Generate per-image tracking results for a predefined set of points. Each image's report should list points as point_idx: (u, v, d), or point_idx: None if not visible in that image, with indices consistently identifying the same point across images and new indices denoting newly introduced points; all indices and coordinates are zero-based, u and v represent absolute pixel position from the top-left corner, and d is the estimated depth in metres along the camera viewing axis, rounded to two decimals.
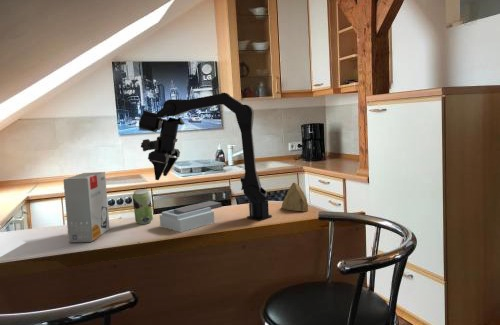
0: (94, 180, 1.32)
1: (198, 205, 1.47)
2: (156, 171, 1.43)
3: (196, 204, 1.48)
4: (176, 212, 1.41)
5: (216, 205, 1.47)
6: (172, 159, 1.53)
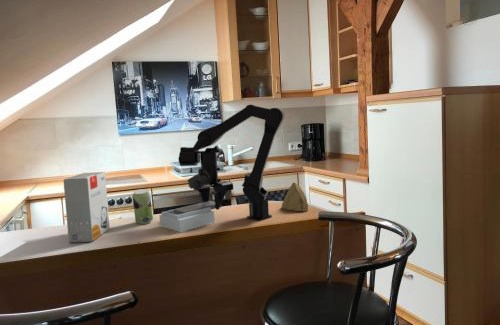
0: (94, 180, 1.32)
1: (198, 205, 1.46)
2: (218, 200, 1.46)
3: (196, 204, 1.48)
4: (176, 212, 1.41)
5: None
6: (207, 188, 1.53)
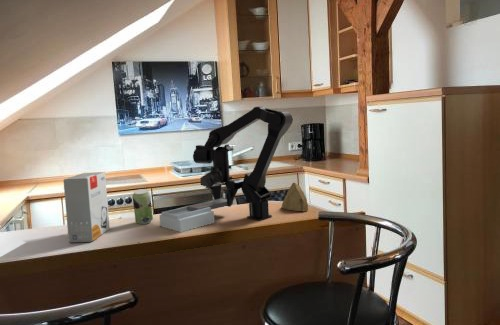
0: (94, 180, 1.32)
1: (210, 202, 1.50)
2: (230, 198, 1.50)
3: (208, 201, 1.52)
4: (189, 209, 1.45)
5: None
6: (219, 186, 1.57)
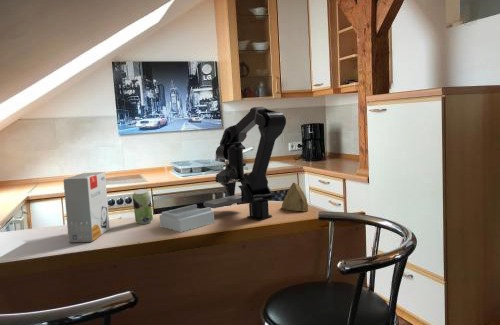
0: (94, 180, 1.32)
1: (225, 198, 1.55)
2: None
3: None
4: (206, 204, 1.50)
5: None
6: (233, 183, 1.62)
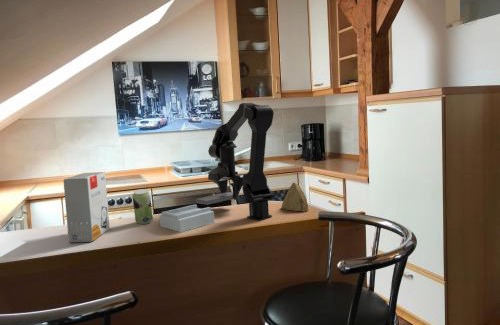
0: (94, 180, 1.32)
1: (217, 195, 1.60)
2: (235, 191, 1.60)
3: None
4: (198, 201, 1.55)
5: None
6: (225, 181, 1.67)
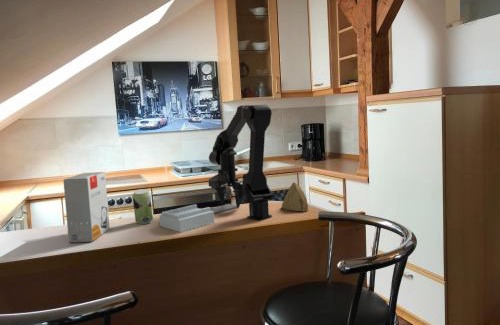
0: (94, 180, 1.32)
1: (218, 208, 1.61)
2: (238, 199, 1.59)
3: (216, 207, 1.63)
4: None
5: (235, 208, 1.62)
6: (223, 187, 1.68)
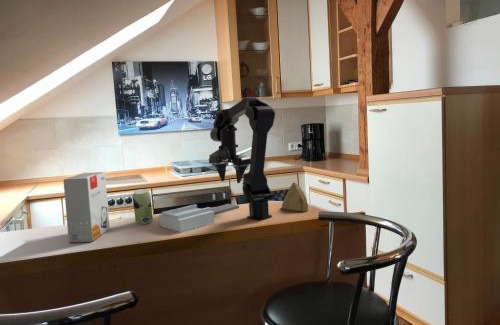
0: (94, 180, 1.32)
1: (218, 208, 1.61)
2: (239, 175, 1.59)
3: (216, 207, 1.63)
4: None
5: (234, 208, 1.62)
6: (224, 164, 1.68)
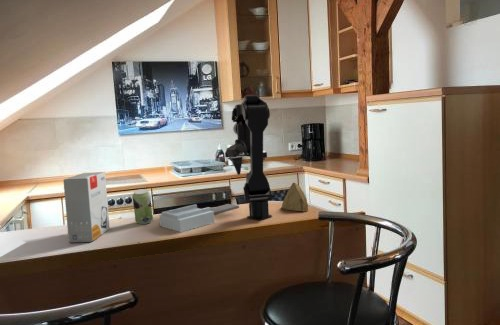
0: (94, 180, 1.32)
1: (218, 208, 1.61)
2: None
3: (216, 207, 1.63)
4: None
5: (234, 208, 1.62)
6: (240, 158, 1.71)
